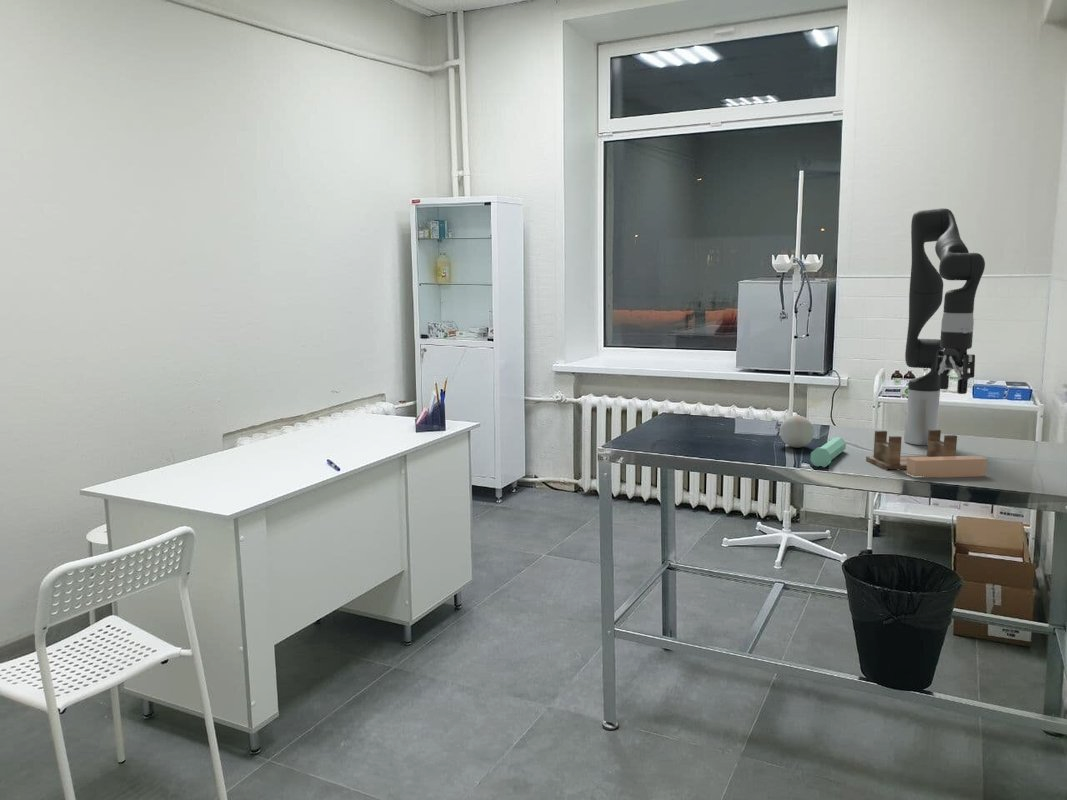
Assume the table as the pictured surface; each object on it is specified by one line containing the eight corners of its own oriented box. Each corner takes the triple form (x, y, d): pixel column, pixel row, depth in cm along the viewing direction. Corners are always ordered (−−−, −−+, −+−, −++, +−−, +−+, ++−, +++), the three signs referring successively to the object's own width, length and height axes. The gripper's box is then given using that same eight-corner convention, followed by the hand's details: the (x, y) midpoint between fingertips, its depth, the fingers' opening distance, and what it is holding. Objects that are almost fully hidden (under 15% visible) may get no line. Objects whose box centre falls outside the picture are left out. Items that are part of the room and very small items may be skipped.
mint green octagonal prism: (834, 431, 257) (815, 443, 236) (852, 440, 254) (835, 453, 233) (825, 447, 259) (806, 461, 238) (843, 456, 256) (825, 472, 235)
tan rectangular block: (906, 475, 226) (907, 457, 225) (976, 473, 228) (977, 455, 227) (914, 479, 222) (915, 460, 221) (985, 477, 224) (986, 458, 223)
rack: (866, 460, 243) (867, 430, 242) (938, 459, 244) (941, 428, 243) (886, 470, 231) (888, 438, 230) (962, 468, 233) (965, 436, 231)
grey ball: (815, 451, 256) (816, 418, 254) (780, 449, 258) (781, 417, 256) (811, 444, 266) (812, 413, 264) (777, 443, 268) (779, 412, 266)
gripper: (928, 328, 226) (924, 387, 228) (959, 332, 212) (954, 395, 214) (955, 328, 227) (950, 387, 229) (987, 331, 212) (982, 395, 215)
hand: (952, 391), depth 222 cm, fingers open, 8 cm apart
